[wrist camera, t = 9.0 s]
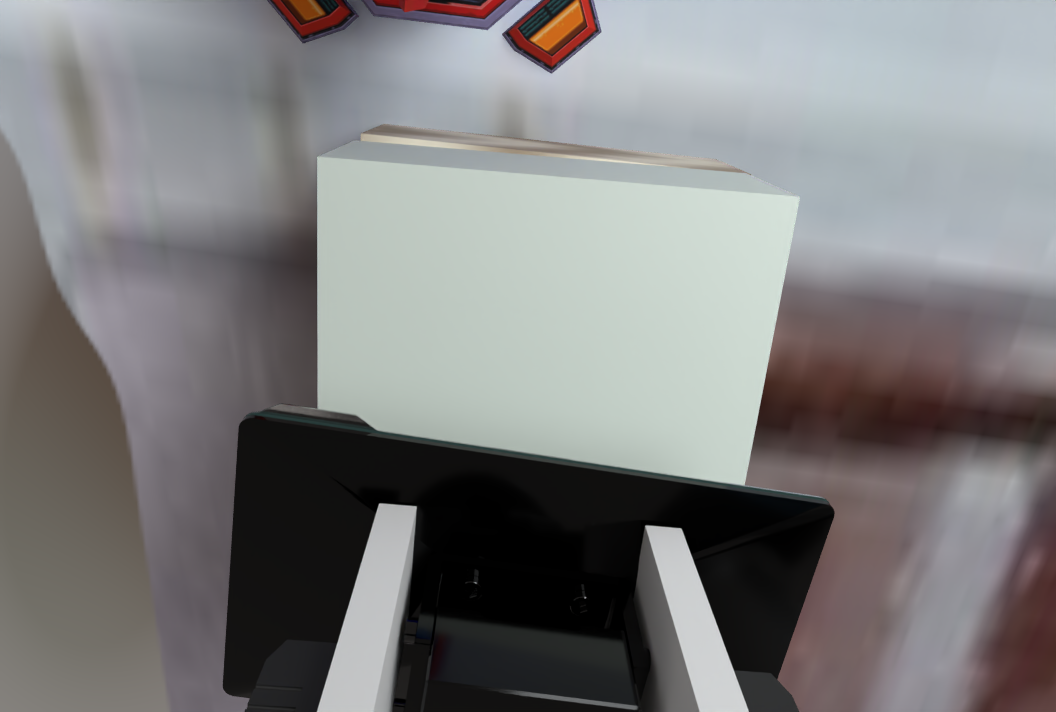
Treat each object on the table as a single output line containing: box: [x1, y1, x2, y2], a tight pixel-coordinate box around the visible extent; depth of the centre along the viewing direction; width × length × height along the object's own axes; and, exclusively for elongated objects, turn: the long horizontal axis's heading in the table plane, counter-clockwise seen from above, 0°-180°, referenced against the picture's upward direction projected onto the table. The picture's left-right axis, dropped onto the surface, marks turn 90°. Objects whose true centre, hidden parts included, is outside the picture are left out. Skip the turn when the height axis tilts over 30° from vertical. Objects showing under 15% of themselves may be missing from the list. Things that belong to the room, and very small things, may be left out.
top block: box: [317, 140, 800, 485], centre depth 25 cm, size 12×15×5 cm
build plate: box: [223, 403, 834, 712], centre depth 16 cm, size 12×7×5 cm, turn 80°
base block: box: [361, 124, 751, 175], centre depth 30 cm, size 12×15×5 cm
